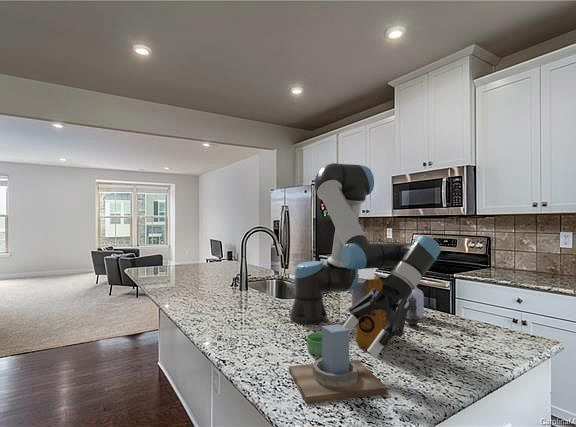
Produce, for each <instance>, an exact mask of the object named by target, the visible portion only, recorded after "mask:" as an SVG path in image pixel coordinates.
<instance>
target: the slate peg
mask: <svg viewBox="0 0 576 427" xmlns="http://www.w3.org/2000/svg"><path fill="white" fill-rule="evenodd" d="M321 333H322V356H321V358H322V371H324V372H326V373H330V374H337V375H338V374H347V373H349V360H350V333H349V329H347V328H345V327H343V325H341V324H339V323H337V324H330V325H322V326H321Z"/></svg>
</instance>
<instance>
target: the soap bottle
mask: <svg viewBox="0 0 576 427" xmlns="http://www.w3.org/2000/svg"><path fill="white" fill-rule="evenodd" d="M412 295H413V298H415V299H416V307H417V309H416V313H417V316H419V317H420V319H419V320H421V319H423V318H424V314H425V313H424V309H425V308H424V307H425V306H424V300H425V299H424V296H425V295H424V292H423V291H422V290H421V289H419V288H418V287H417V286H416V287H415V289H414V290H412V293H411V294H410V296H409V297H408V299H409V298H411V297H412ZM408 299H407V301H408ZM407 314H408V312H407Z"/></svg>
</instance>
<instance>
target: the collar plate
mask: <svg viewBox="0 0 576 427" xmlns="http://www.w3.org/2000/svg"><path fill="white" fill-rule="evenodd" d="M288 367H289V369H288V373H289V375H290V376H291V378H292V381H293V382H294V384H295V386H296V388H297V389H298V392H299V393H300V395H301V397H302V398H303V401H304V403H305V405H306V404H308V405H309V404H315V403H323V402H331V401H332V402H333V401H339V400H348V399H355V398H356V399H357V398H365V397H373V396H381V395H388V386H387V385H386V384H385V383H384V382H382V381H381V380H380V379H379V378H378V377H377V376H376V375H375V374H374V373H373V372H372V371H371V370H370V369H369V368H368V367H367V366H365V364H363V363H362V362H361V361H360V360H359V359H351V360H350V359H349V373H347V374H338V375H337V374H330V373H326V372H324V371H322V357H321V358H318V359H316V360H314V362H313V363H309V364H298V365H297V364H296V365H288Z"/></svg>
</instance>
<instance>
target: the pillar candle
mask: <svg viewBox="0 0 576 427" xmlns="http://www.w3.org/2000/svg"><path fill="white" fill-rule="evenodd" d="M366 279H367V278H364V277H362V278H358V283H357V285H356V287H355V288H354V289H352V290H351V306H352V305H354V304H355V303H356V302H358V301H359V300H360V299H362V298H363V297H364V296H365V293H366V290H367V288H368V284H365V283H364V282H365V281H366Z"/></svg>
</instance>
